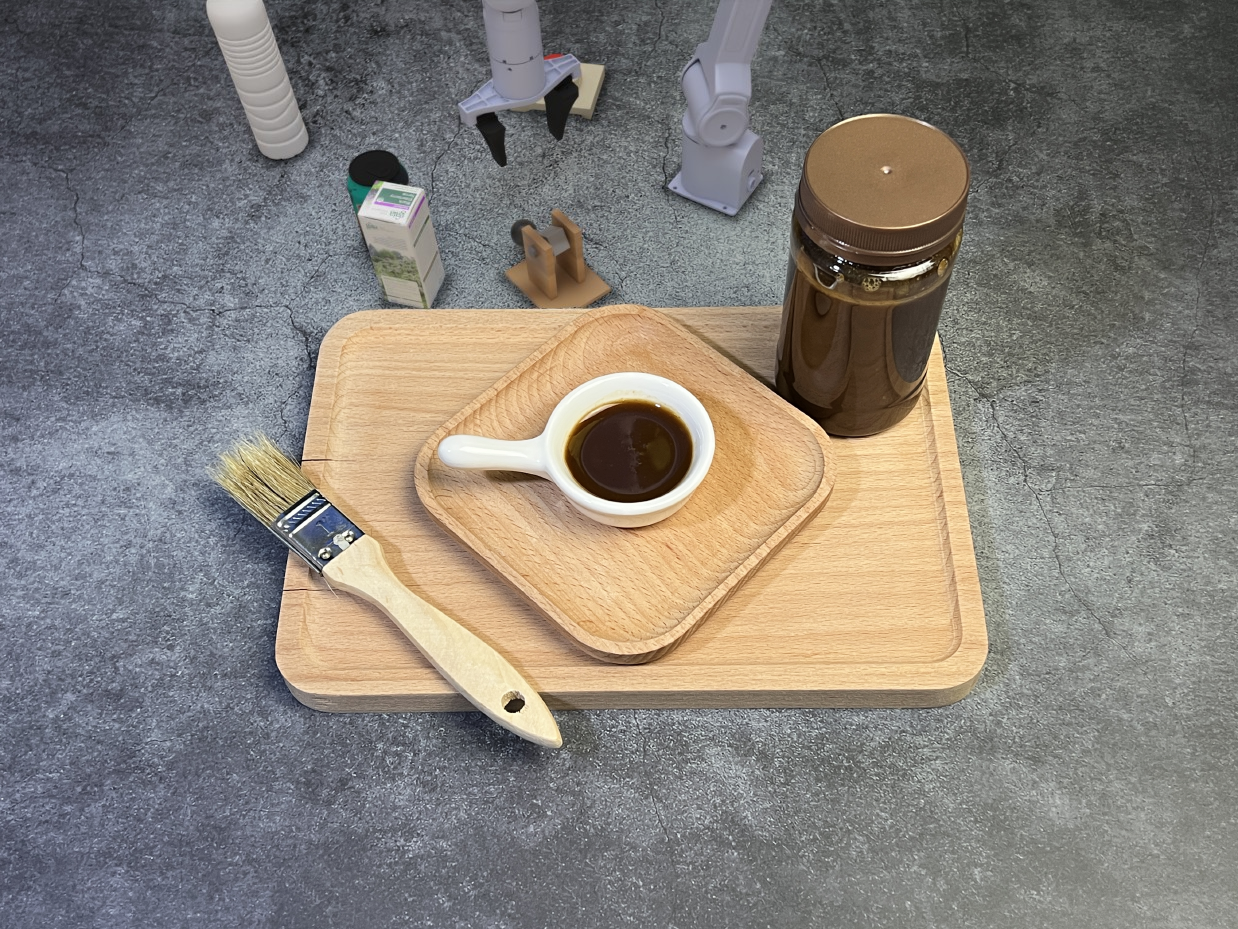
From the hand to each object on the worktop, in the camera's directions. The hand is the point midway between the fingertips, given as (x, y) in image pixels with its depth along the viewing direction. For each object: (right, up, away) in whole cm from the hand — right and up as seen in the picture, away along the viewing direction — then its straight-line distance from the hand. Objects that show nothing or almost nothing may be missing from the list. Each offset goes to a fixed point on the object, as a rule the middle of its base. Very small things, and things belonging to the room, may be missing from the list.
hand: (528, 148), depth 128 cm
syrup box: (-13, -17, +1) cm, 21 cm away
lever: (+2, -12, -2) cm, 12 cm away
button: (+2, +15, +17) cm, 23 cm away
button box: (+2, +13, +20) cm, 24 cm away
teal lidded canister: (-17, -10, +6) cm, 20 cm away
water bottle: (-33, +6, +17) cm, 37 cm away
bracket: (+3, -16, +1) cm, 16 cm away
